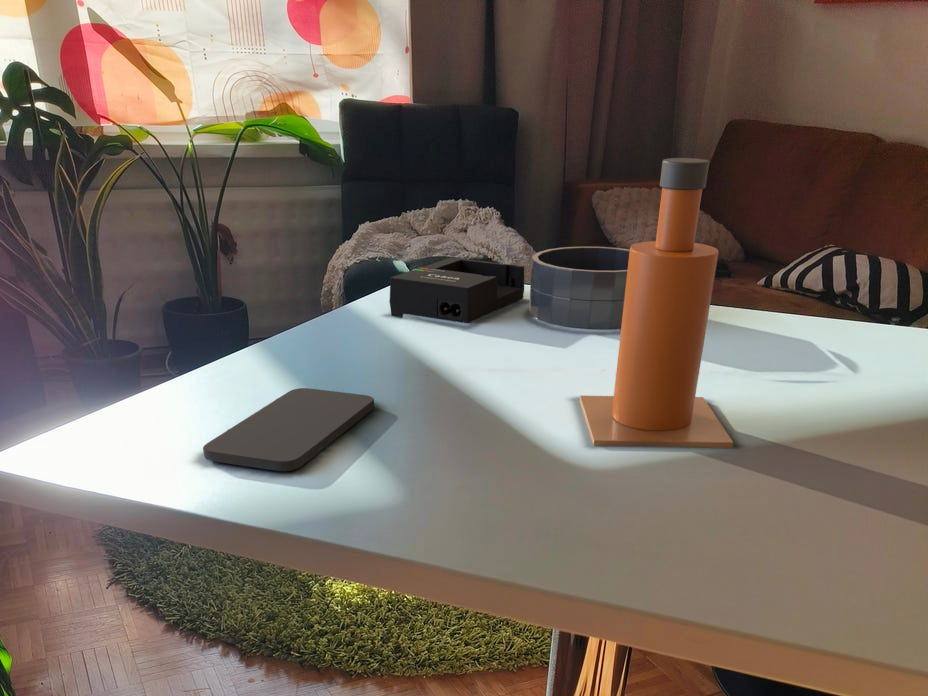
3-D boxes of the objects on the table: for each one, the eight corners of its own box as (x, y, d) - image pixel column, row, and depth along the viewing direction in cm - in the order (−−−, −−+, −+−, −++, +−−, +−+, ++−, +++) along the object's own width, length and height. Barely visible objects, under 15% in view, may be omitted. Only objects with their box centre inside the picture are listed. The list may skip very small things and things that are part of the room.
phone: (379, 396, 71) (293, 463, 59) (380, 406, 71) (294, 475, 59) (295, 386, 73) (195, 449, 61) (296, 396, 73) (197, 461, 61)
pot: (643, 304, 100) (650, 247, 97) (664, 335, 89) (673, 272, 86) (526, 303, 101) (529, 246, 97) (533, 334, 90) (536, 271, 86)
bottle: (682, 404, 71) (721, 156, 61) (698, 431, 66) (743, 165, 56) (607, 403, 71) (633, 155, 61) (617, 430, 66) (647, 164, 56)
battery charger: (467, 329, 91) (468, 288, 89) (389, 317, 95) (388, 277, 93) (523, 303, 100) (525, 265, 98) (450, 293, 104) (450, 256, 102)
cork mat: (702, 403, 72) (703, 396, 72) (732, 448, 64) (733, 442, 64) (579, 401, 73) (579, 395, 72) (593, 447, 64) (594, 440, 64)
